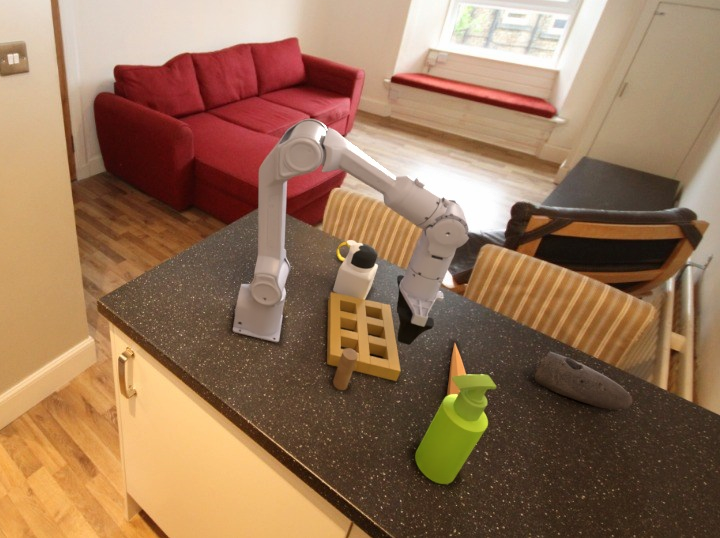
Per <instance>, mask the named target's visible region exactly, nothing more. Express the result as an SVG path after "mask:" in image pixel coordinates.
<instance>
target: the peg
mask: <svg viewBox="0 0 720 538" xmlns="http://www.w3.org/2000/svg"><path fill="white" fill-rule="evenodd" d="M357 358H358V355H357V353H356V352H355V350H354V349H350V348H346V347H345V348H343V352H342V355H341V358H340V361H339V364H338V367H337V366H336V367H337V368H336V371H335V373H334V377H333V379H332V384H333V387H334V388H336V389H337V390H339V391H345V390H347V389H348V386H349V383H350V381H351V377H352V375H353V372H354V371H353V369H354V366H355V364H356V361H357Z"/></svg>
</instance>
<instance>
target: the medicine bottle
mask: <svg viewBox="0 0 720 538" xmlns="http://www.w3.org/2000/svg"><path fill="white" fill-rule="evenodd" d="M378 255H379V254H378V251H377V250H376V249H375V247H373V246H371V245H369V244H367V243H363V242H357V243H356V244H353V245H351V246H350V247H349V250H348V253H347V255H346V257H344V258H345V260H344V261H342V263H341V264H340V266H339V268H338V271H337V274H336V278H335V282H334V285H333V288H332V292H333V293H337V294H342V295H346V296H351V297H355V298H360V299H364V300H366V298H367V297H368V294H369V293H370V291H371V288H372V285H373V282H374V279H375V276H376V273H377V270H378V267H379V265H378V264H377V263H376V262H377V258H378Z"/></svg>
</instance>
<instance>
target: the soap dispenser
mask: <svg viewBox="0 0 720 538" xmlns="http://www.w3.org/2000/svg"><path fill="white" fill-rule="evenodd" d="M451 378H452V380H453V381H454V383H455V384H456V386H457V387H458V389H459V390H461V391H460V392H459V394H458V395H457V394H452V395H448V396H447V395H446V396H445V397H444V398H443V400H442V402H441V404H440V405H439V407H438V408H437V411H436V412H435V415H434V417H433V419H432V421H431V422H430V424H429V426H428V427H427V430H426V432H425V434H424V436H423V438H422V439H421V441H420V444H419V446H418V447H417V449H416V450H415V453H414V459H415V463H416V465H417V467H418V469H419V471H420V472H421V473H422V474H423V475H424V476H425V477H426V478H428V479H429V480H431V481H432V482H434V483H436V484H440V485H448V484H451V483H453V481H454V480H455V479H456V477H457V476H458V474H459V473H460V471H461V469H462V467H463V466H464V464H465V463H466V462H467V460H468V459H469V456H470V454H471V453H472V451H474V449H475V447H476V445H477V444H478V442H479V441H480V439H481V437H483V436H482V435H483V434H484V433H485V431H486V430H487V428H488V425H489V420H488V417H487V415H486V413H485V409H486V408H487V406H488V399H487V397H486V395H485V394H486V392H487V391H488V390H496V389H497V387H498V386H497V385H496V384H495V382H494V381H493V379H492V377H490V375H489V374H479V373H478V374H474V373H473V374H472V373H471V374H466V375H459V376H454V377H451Z"/></svg>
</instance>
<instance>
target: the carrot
mask: <svg viewBox="0 0 720 538" xmlns="http://www.w3.org/2000/svg"><path fill="white" fill-rule="evenodd" d="M459 375H467V373H466V369H465V366H464V362H463V360H462V357H461V354H460V352H459V349H458V346H457V344H456V342H454V344H453V350H452V354H451V358H450V368H449V376H448V385H447V391H446V396H448V395H452V394H457V395H458V394H459V392H460V391H461V390H459V389H458V387H457V386H456V384H455V383H454V381H453V380H452V378H451V377H454V376H459Z"/></svg>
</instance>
